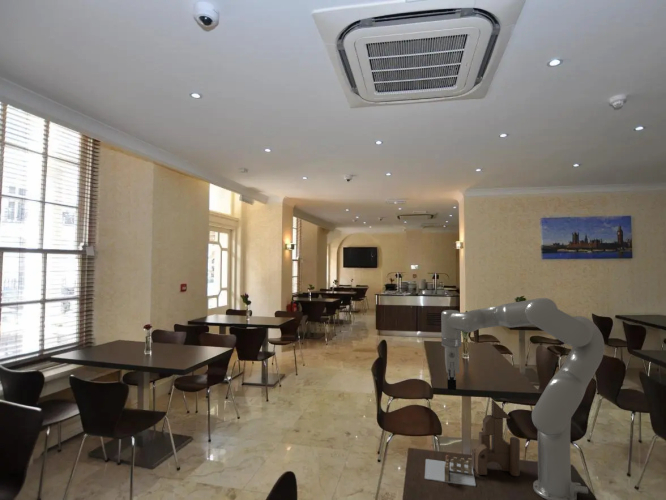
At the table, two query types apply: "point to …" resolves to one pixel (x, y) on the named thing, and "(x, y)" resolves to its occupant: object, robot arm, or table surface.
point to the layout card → (437, 473)
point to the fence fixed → (462, 465)
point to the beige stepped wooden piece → (447, 467)
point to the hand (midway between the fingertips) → (451, 389)
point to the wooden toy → (496, 445)
